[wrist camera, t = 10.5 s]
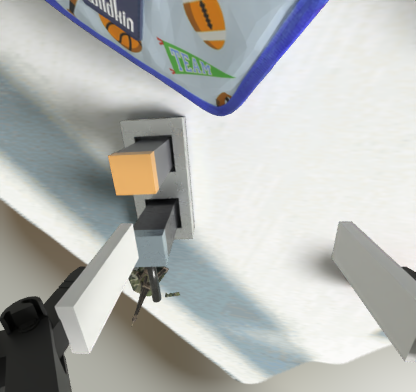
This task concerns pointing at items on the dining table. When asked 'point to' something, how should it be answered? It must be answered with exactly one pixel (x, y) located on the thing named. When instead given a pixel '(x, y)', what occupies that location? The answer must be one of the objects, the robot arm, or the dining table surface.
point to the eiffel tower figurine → (145, 284)
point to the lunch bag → (198, 40)
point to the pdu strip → (162, 198)
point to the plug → (142, 166)
